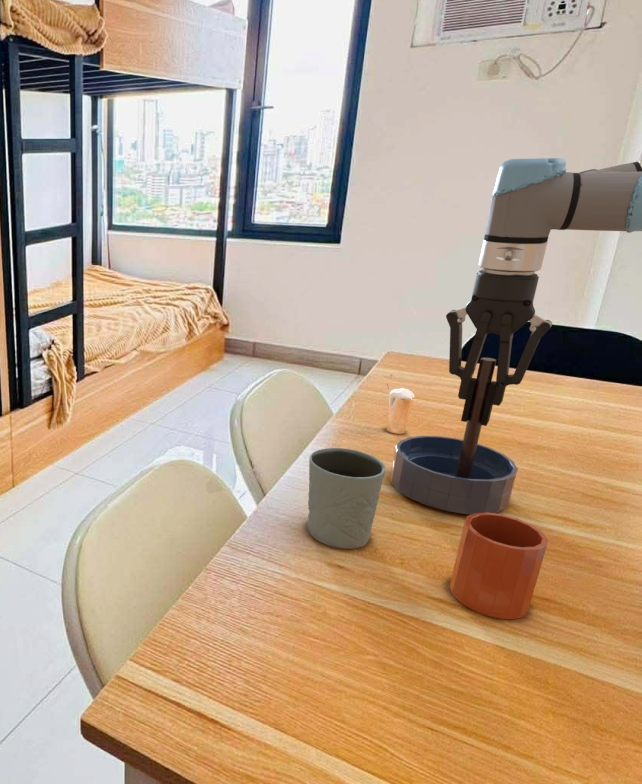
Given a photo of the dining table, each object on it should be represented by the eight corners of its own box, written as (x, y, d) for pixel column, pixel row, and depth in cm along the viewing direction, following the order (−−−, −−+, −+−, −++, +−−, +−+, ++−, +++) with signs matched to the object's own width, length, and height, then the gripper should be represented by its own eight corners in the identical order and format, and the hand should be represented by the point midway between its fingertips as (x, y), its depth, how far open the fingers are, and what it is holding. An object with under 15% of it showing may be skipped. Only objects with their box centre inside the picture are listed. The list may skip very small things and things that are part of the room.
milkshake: (381, 424, 134) (388, 380, 130) (409, 429, 131) (417, 384, 128) (377, 431, 130) (384, 386, 127) (405, 437, 127) (414, 390, 124)
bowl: (514, 487, 107) (523, 453, 105) (498, 529, 95) (508, 492, 93) (404, 459, 118) (410, 428, 116) (377, 494, 106) (383, 459, 104)
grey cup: (376, 557, 89) (389, 482, 85) (300, 544, 92) (310, 471, 88) (369, 521, 98) (381, 451, 94) (300, 510, 101) (309, 443, 97)
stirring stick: (468, 486, 103) (497, 358, 96) (466, 491, 102) (495, 361, 94) (454, 483, 104) (481, 356, 97) (452, 487, 103) (479, 359, 95)
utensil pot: (531, 594, 81) (551, 527, 77) (523, 629, 75) (543, 558, 72) (457, 569, 86) (472, 505, 83) (443, 599, 80) (459, 532, 77)
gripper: (443, 270, 93) (416, 417, 101) (571, 279, 84) (530, 440, 92) (454, 263, 98) (427, 403, 106) (575, 272, 89) (536, 424, 97)
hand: (475, 420), depth 99 cm, fingers closed on stirring stick, 2 cm apart
